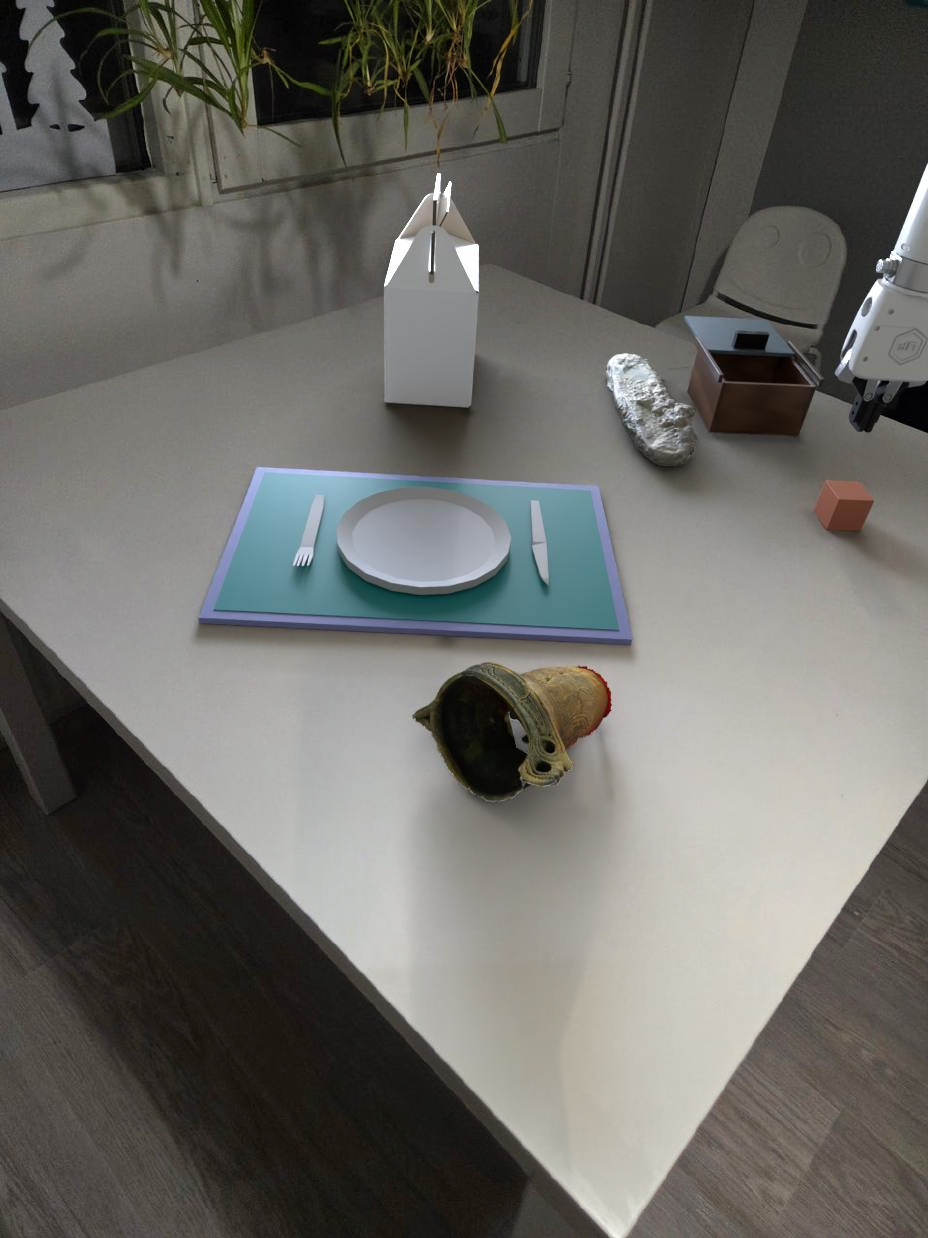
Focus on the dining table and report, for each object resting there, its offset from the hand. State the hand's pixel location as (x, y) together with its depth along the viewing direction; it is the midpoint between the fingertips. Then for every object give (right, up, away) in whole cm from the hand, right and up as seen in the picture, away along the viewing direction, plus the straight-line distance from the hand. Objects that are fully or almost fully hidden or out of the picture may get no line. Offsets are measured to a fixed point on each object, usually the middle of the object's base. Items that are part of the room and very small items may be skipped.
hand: (859, 426), depth 101 cm
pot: (-44, -37, -28) cm, 64 cm away
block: (0, -11, +6) cm, 12 cm away
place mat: (-54, -16, -4) cm, 56 cm away
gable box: (-54, +16, +32) cm, 65 cm away
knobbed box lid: (-5, +22, +31) cm, 38 cm away
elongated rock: (-21, +8, +26) cm, 34 cm away
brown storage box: (-5, +9, +29) cm, 30 cm away
